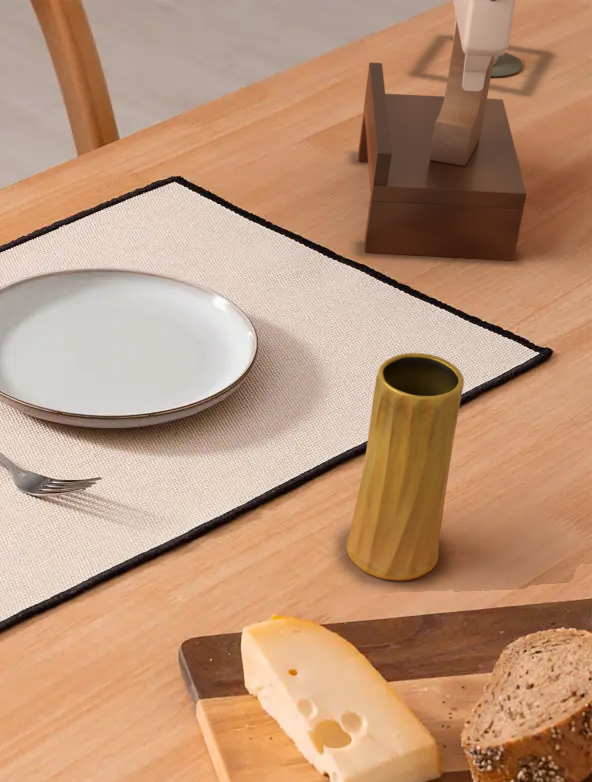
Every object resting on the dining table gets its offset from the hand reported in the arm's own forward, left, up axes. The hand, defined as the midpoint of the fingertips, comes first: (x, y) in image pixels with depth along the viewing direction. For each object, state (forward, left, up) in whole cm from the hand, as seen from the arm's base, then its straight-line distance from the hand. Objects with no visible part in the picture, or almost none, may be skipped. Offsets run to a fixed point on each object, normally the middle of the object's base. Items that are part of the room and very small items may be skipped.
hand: (467, 66), depth 136 cm
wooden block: (0, +2, -7) cm, 7 cm away
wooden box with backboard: (+1, 0, -14) cm, 14 cm away
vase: (+7, +52, -14) cm, 54 cm away
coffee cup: (-7, -35, -14) cm, 38 cm away
